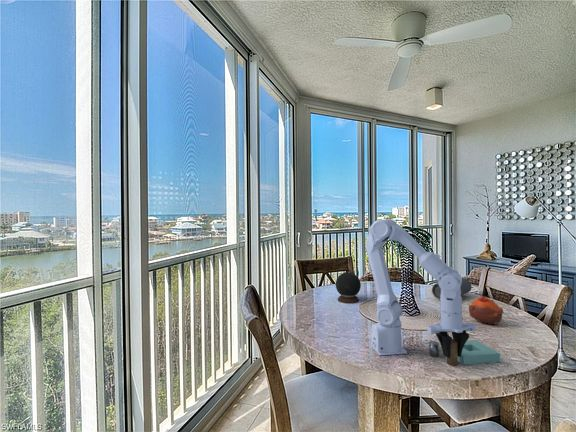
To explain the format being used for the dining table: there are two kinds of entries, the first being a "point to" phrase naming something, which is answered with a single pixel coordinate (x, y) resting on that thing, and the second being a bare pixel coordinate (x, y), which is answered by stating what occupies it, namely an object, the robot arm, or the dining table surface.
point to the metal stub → (434, 349)
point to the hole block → (478, 353)
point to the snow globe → (348, 287)
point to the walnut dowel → (453, 354)
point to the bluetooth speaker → (464, 287)
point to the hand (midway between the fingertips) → (452, 355)
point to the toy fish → (485, 310)
